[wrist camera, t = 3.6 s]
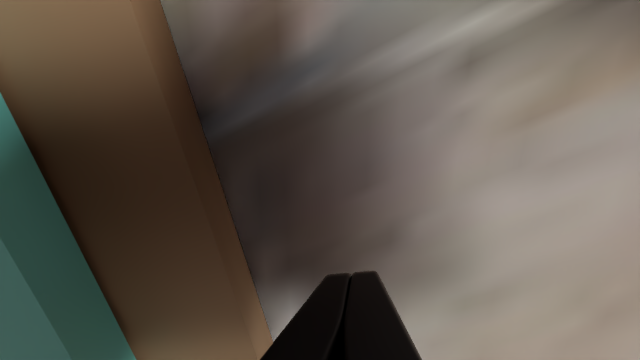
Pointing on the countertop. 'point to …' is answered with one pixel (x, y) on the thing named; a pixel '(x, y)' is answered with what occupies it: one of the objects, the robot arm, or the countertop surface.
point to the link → (45, 270)
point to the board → (132, 173)
